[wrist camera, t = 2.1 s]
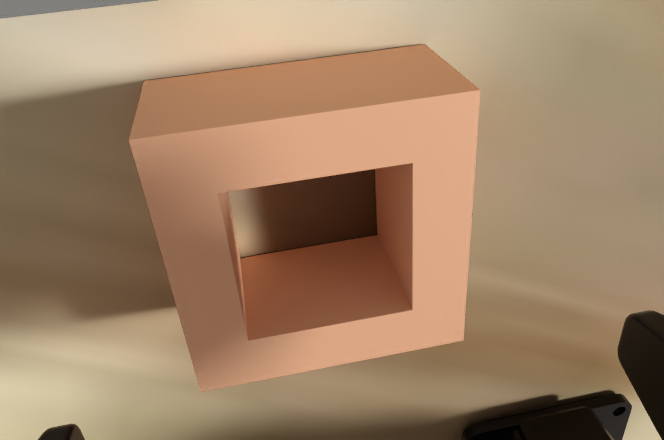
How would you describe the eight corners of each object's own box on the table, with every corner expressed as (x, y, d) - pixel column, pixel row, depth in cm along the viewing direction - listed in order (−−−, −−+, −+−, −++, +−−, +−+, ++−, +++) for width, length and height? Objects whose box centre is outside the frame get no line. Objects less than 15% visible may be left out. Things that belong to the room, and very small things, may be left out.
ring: (421, 264, 17) (463, 340, 14) (201, 304, 16) (201, 391, 13) (425, 44, 13) (480, 90, 11) (144, 80, 13) (128, 140, 10)
